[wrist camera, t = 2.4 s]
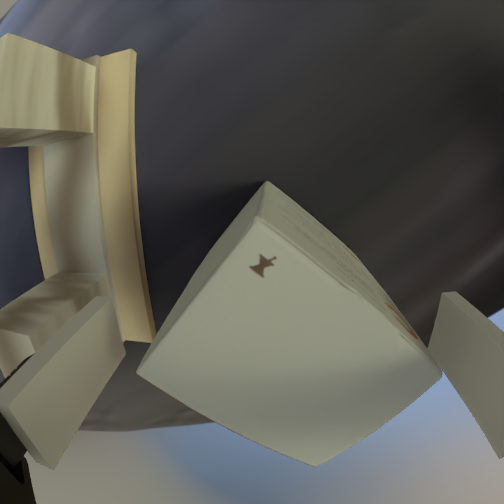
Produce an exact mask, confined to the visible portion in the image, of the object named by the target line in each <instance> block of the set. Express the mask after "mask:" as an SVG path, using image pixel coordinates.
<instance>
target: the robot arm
mask: <svg viewBox="0 0 504 504" xmlns="http://www.w3.org/2000/svg"><path fill="white" fill-rule="evenodd" d="M427 349H428V351H429V352H430V353H431V355H432V356H433V358H434V359H435V361H436V362H437V364H438V365H439V366H440V368H441V369H442V371H443V372H444V373H445V375H446V376H447V378H448V379H449V381H450V382H451V383H452V385H453V386H454V388H455V389H456V391H457V392H458V394H459V395H460V397H461V398H462V400H463V401H464V403H465V404H466V406H467V407H468V409H469V410H470V412H471V413H472V415H473V417H474V418H475V420H476V421H477V423H478V424H479V426H480V428H481V429H482V431H483V432H484V434H485V436H486V437H487V439H488V441H489V442H490V444H491V446H492V447H493V449H494V451H495V453H496V454H497V456H498V458H499V459H500V458H502V457H504V332H503V331H502V330H500V329H499V328H498V327H497V326H496V325H495V324H494V323H493V322H491V321H490V320H489V319H488V318H487V317H486V316H485V315H483V314H482V313H481V312H480V311H479V310H478V309H476V308H475V307H474V306H473V305H472V304H470V303H469V302H468V301H467V300H466V299H464V298H463V297H462V296H461V295H459V294H458V293H457V292H456V291H455V292H443V293H442V294H441V299H440V303H439V307H438V312H437V316H436V320H435V324H434V327H433V331H432V335H431V338H430V342H429V345H428V348H427ZM125 355H126V352H125V348H124V344H123V341H122V337H121V333H120V329H119V325H118V321H117V316H116V312H115V308H114V303H113V298H112V297H107V296H96V297H95V298H94V299H93V300H91V301H90V302H89V303H88V304H87V305H86V306H85V307H84V308H82V309H81V310H80V311H79V312H78V313H77V314H76V315H75V316H74V317H73V318H71V319H70V320H69V321H68V322H67V323H66V324H65V325H64V326H63V327H62V328H61V329H60V330H59V331H57V332H56V333H55V334H54V335H53V336H52V337H51V338H50V339H49V340H48V341H47V342H46V343H45V344H44V345H43V346H42V347H41V348H40V349H39V350H38V351H37V352H36V353H34V354H32V355H31V356H29V357H27V358H25V359H24V360H23V361H22V362H21V363H20V364H19V365H18V366H17V369H14V370H13V371H12V372H11V373H10V376H9V375H8V376H7V377H6V379H5V380H4V381H3V382H2V383H1V384H0V504H36V501H35V497H34V493H33V488H32V483H31V478H30V473H29V467H28V463H27V460H26V458H25V457H24V454H25V453H26V451H28V452H29V453H30V455H31V456H32V457H33V459H34V460H35V461H36V462H38V463H40V464H42V465H44V466H46V467H48V468H50V469H52V470H54V469H55V467H56V465H57V464H58V462H59V460H60V458H61V457H62V455H63V453H64V452H65V450H66V448H67V447H68V445H69V443H70V442H71V440H72V438H73V436H74V435H75V433H76V432H77V430H78V428H79V427H80V425H81V423H82V422H83V420H84V419H85V417H86V415H87V414H88V412H89V411H90V409H91V407H92V406H93V404H94V403H95V401H96V399H97V398H98V396H99V395H100V393H101V392H102V390H103V388H104V387H105V385H106V384H107V382H108V381H109V379H110V378H111V376H112V375H113V373H114V372H115V370H116V368H117V367H118V365H119V364H120V362H121V361H122V359H123V358H124V356H125Z"/></svg>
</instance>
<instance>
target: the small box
mask: <svg viewBox="0 0 504 504" xmlns="http://www.w3.org/2000/svg"><path fill="white" fill-rule="evenodd" d="M136 373H137V374H138V375H139V376H140V377H142V378H143V379H145V380H146V381H148V382H149V383H151V384H153V385H154V386H156V387H157V388H159V389H160V390H162V391H163V392H165V393H166V394H168V395H170V396H171V397H173V398H174V399H176V400H178V401H179V402H181V403H183V404H184V405H186V406H188V407H189V408H191V409H193V410H194V411H196V412H198V413H200V414H201V415H203V416H205V417H207V418H209V419H210V420H212V421H214V422H216V423H218V424H220V425H222V426H223V427H226V428H227V429H230V430H231V431H233V432H235V433H237V434H239V435H241V436H244V437H245V438H248V439H250V440H252V441H254V442H256V443H258V444H260V445H263V446H265V447H267V448H269V449H271V450H274V451H276V452H279V453H281V454H283V455H286V456H288V457H291V458H294V459H296V460H298V461H301V462H304V463H306V464H308V465H311V466H313V467H316V466H319V465H321V464H322V463H324V462H326V461H328V460H329V459H331V458H333V457H335V456H337V455H338V454H339V453H341V452H343V451H345V450H346V449H348V448H349V447H351V446H353V445H354V444H356V443H357V442H359V441H360V440H362V439H363V438H365V437H367V436H368V435H369V434H371V433H373V432H374V431H375V430H377V429H378V428H380V427H381V426H382V425H384V424H385V423H387V422H388V421H389V420H391V419H392V418H393V417H394V416H396V415H397V414H399V413H400V412H401V411H402V410H404V409H405V408H406V407H407V406H409V405H410V404H411V403H412V402H414V401H415V400H416V399H417V398H418V397H420V396H421V395H422V394H423V393H424V392H426V391H427V390H428V389H429V388H430V387H431V386H432V385H434V384H435V383H436V382H437V381H438V380H439V379H440V378H441V377H442V370H441V369H440V367H439V365H438V364H437V362H436V361H435V359H434V358H433V356H432V355H431V353H430V352H429V351H428V349H427V348H426V346H425V345H424V343H423V342H422V341H421V339H420V338H419V336H418V335H417V334H416V332H415V331H414V330H413V328H412V327H411V325H410V324H409V323H408V321H407V320H406V319H405V317H404V316H403V315H402V313H401V312H400V311H399V309H398V308H397V307H396V305H395V304H394V303H393V301H392V300H391V299H390V297H389V296H388V295H387V293H386V292H385V291H384V290H383V288H382V287H381V286H380V285H379V284H378V282H377V281H376V280H375V279H374V277H373V276H372V275H371V274H370V272H369V271H368V270H367V269H366V267H365V266H364V265H363V264H362V262H361V261H360V260H359V259H358V257H357V256H356V255H355V254H354V253H353V252H352V251H351V250H350V249H349V248H348V247H347V246H346V245H345V244H344V243H343V242H341V241H340V240H339V239H338V238H337V237H336V236H335V235H334V234H332V233H331V232H330V231H329V230H328V229H327V228H325V227H324V226H323V225H322V224H321V223H320V222H318V221H317V220H316V219H315V218H314V217H313V216H311V215H310V214H309V213H308V212H307V211H305V210H304V209H303V208H302V207H301V206H299V205H298V204H297V203H296V202H295V201H293V200H292V199H291V198H290V197H288V196H287V195H286V194H285V193H283V192H282V191H281V190H280V189H278V188H277V187H276V186H274V185H273V184H272V183H270V182H269V181H265V182H264V184H263V185H262V186H261V187H260V188H259V190H258V191H257V192H256V193H255V194H254V196H253V197H252V198H251V199H250V200H249V202H248V203H247V204H246V205H245V207H244V208H243V209H242V210H241V212H240V213H239V214H238V215H237V216H236V218H235V219H234V220H233V221H232V223H231V224H230V225H229V227H228V228H227V229H226V230H225V232H224V233H223V234H222V235H221V237H220V238H219V239H218V241H217V242H216V243H215V244H214V246H213V247H212V248H211V250H210V251H209V252H208V254H207V255H206V257H205V258H204V260H203V261H202V263H201V264H200V266H199V267H198V269H197V270H196V272H195V273H194V275H193V276H192V278H191V280H190V281H189V283H188V285H187V286H186V288H185V289H184V291H183V293H182V294H181V296H180V297H179V299H178V300H177V302H176V304H175V305H174V307H173V309H172V310H171V312H170V313H169V315H168V317H167V318H166V320H165V321H164V323H163V325H162V326H161V328H160V330H159V331H158V333H157V335H156V336H155V338H154V340H153V342H152V343H151V345H150V347H149V349H148V350H147V352H146V354H145V356H144V357H143V359H142V361H141V363H140V365H139V367H138V369H137V371H136Z"/></svg>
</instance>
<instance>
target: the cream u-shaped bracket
mask: <svg viewBox="0 0 504 504" xmlns="http://www.w3.org/2000/svg"><path fill="white" fill-rule="evenodd" d="M136 56H137V53H136V52H135V51H134V50H132V49H128V50H124V51H120V52H116V53H113V54H109V55H106V56H103V57H100V56H98V55H95V56H92V57H89V58H86V59H83V60H79V59H76V58H74V57H72V56H69V55H67V54H64V53H62V52H59V51H57V50H54V49H52V48H49V47H47V46H44V45H41V44H39V43H36V42H33V41H30V40H28V39H25V38H22V37H19V36H16V35H13V34H10V33H7V34H5V35H4V36H2V37H1V38H0V148H1V147H20V146H28V152H29V176H30V190H31V200H32V209H33V217H34V225H35V231H36V238H37V243H38V249H39V254H40V259H41V264H42V269H43V273H44V278H45V280H44V281H43V282H41V283H40V284H38V285H36V286H35V287H33V288H32V289H30V290H29V291H27V292H26V293H24V294H22V295H21V296H19V297H18V298H16V299H15V300H13V301H12V302H10V303H9V304H7V305H6V306H4V307H3V308H2V309H0V368H1V371H2V373H3V375H4V377H5V379H6V377H7V376H8V375H9V376H10V373H11V372H12V371H13V370H14V369H17V366H18V365H19V364H20V363H21V362H22V361H23V360H24V359H25V358H27V357H29V356H31V355H32V354H34V353H36V352H37V351H38V350H39V349H40V348H41V347H42V346H43V345H44V344H45V343H46V342H47V341H48V340H49V339H50V338H51V337H52V336H53V335H54V334H55V333H56V332H57V331H59V330H60V329H61V328H62V327H63V326H64V325H65V324H66V323H67V322H68V321H69V320H70V319H71V318H73V317H74V316H75V315H76V314H77V313H78V312H79V311H80V310H81V309H82V308H84V307H85V306H86V305H87V304H88V303H89V302H90V301H91V300H93V299H94V298H95V297H96V296H107V297H112V298H113V303H114V308H115V312H116V316H117V321H118V325H119V329H120V333H121V337H122V341H123V343H124V341H125V340H130V341H139V342H149V343H152V342H153V340H154V338H155V336H156V335H157V334H156V329H155V323H154V318H153V313H152V307H151V301H150V295H149V289H148V282H147V276H146V269H145V261H144V254H143V246H142V237H141V228H140V218H139V206H138V194H137V179H136V159H135V74H136Z"/></svg>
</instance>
